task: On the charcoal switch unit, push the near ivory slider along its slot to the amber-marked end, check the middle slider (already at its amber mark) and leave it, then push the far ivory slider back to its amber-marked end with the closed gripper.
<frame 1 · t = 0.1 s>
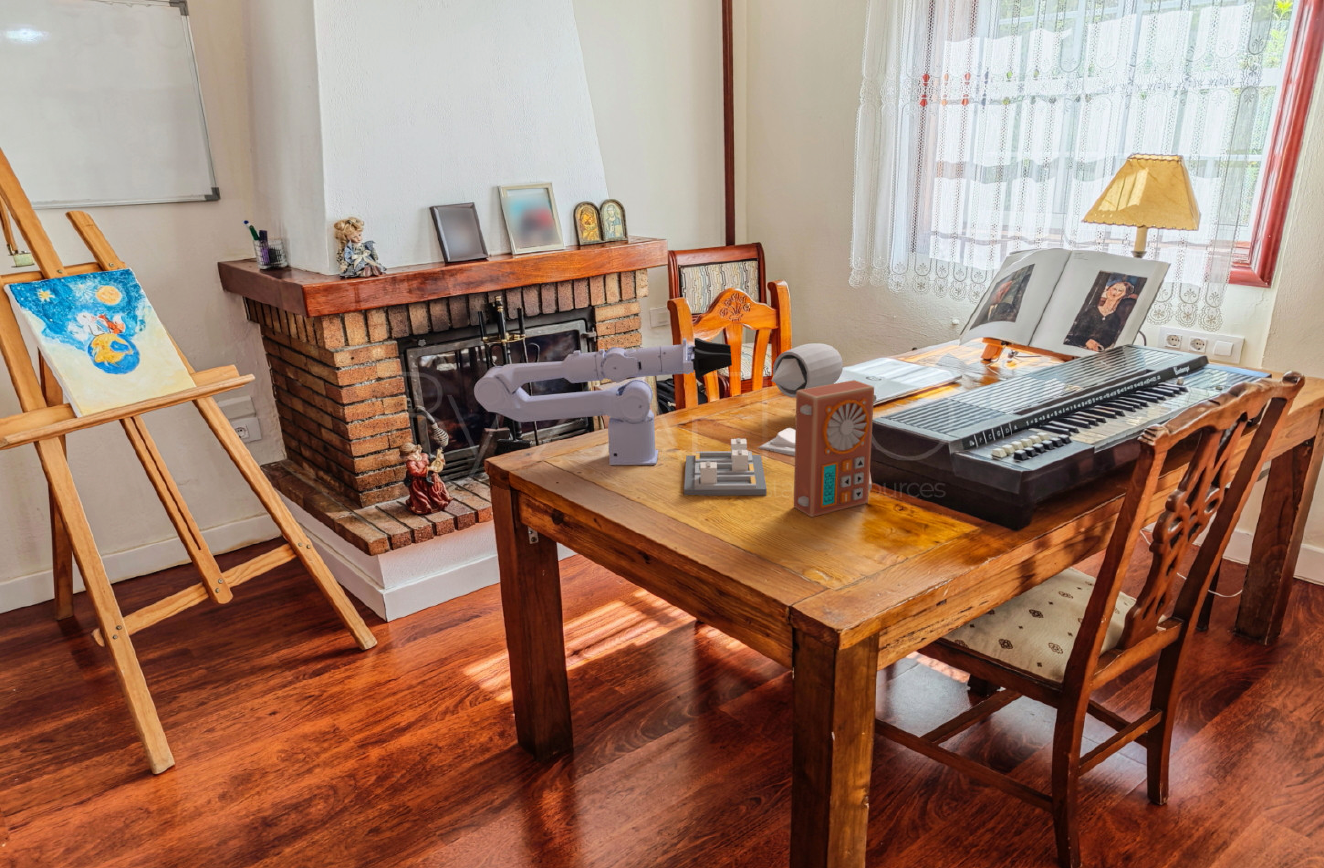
hand: (731, 354, 171), 22 cm above the table, tool horizontal, fingers open, 7 cm apart
slider near: (708, 473, 161), point 3 cm above the table, slide at 0.0 cm
switch unit: (724, 477, 168), on the table
jet engine: (802, 420, 201), on the table
light switch: (796, 450, 184), on the table
slider far: (738, 449, 173), point 3 cm above the table, slide at 6.0 cm
control panel: (830, 505, 154), on the table
slider mid: (740, 461, 167), point 3 cm above the table, slide at 6.0 cm
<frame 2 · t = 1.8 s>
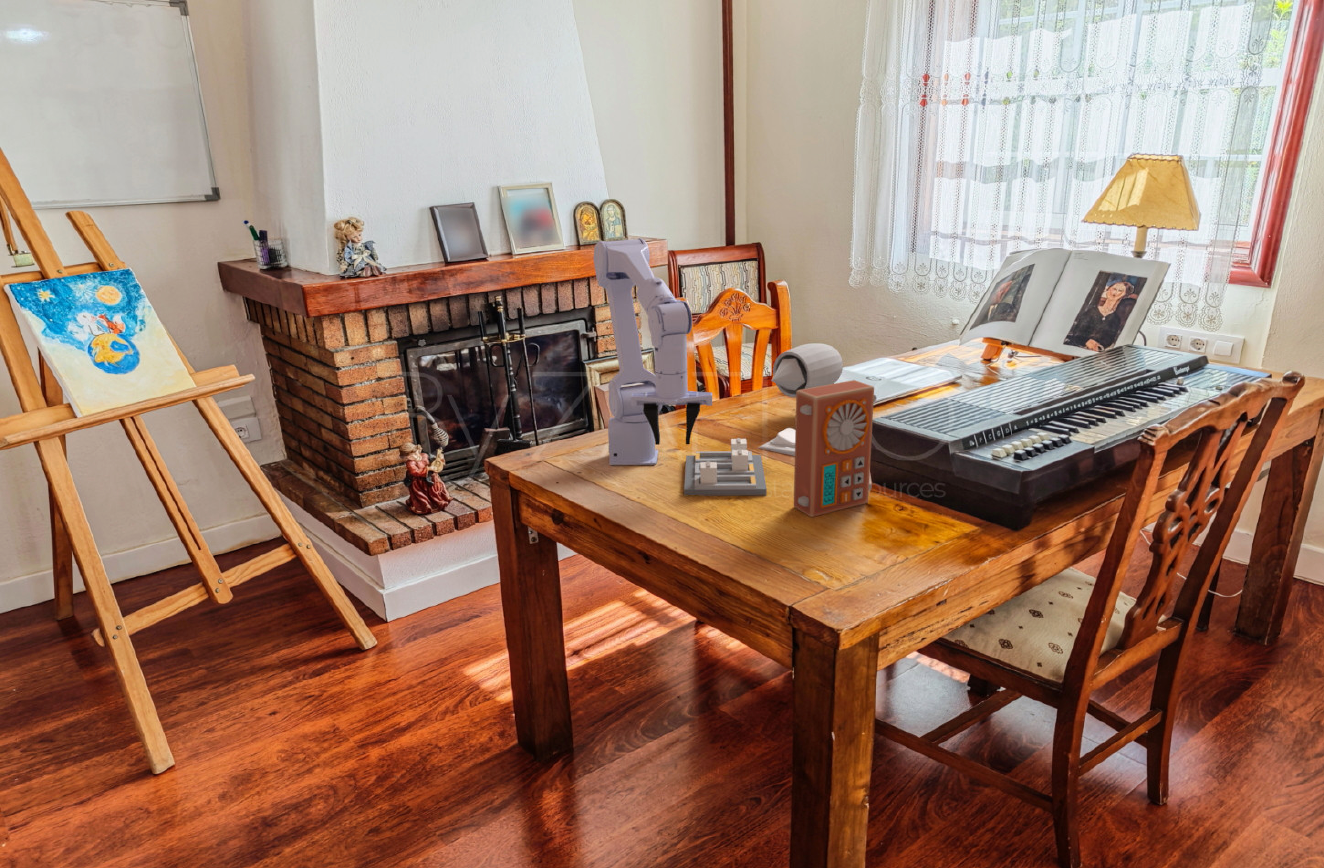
hand: (672, 442, 159), 9 cm above the table, tool pointing down, fingers open, 5 cm apart
nothing on the table moved.
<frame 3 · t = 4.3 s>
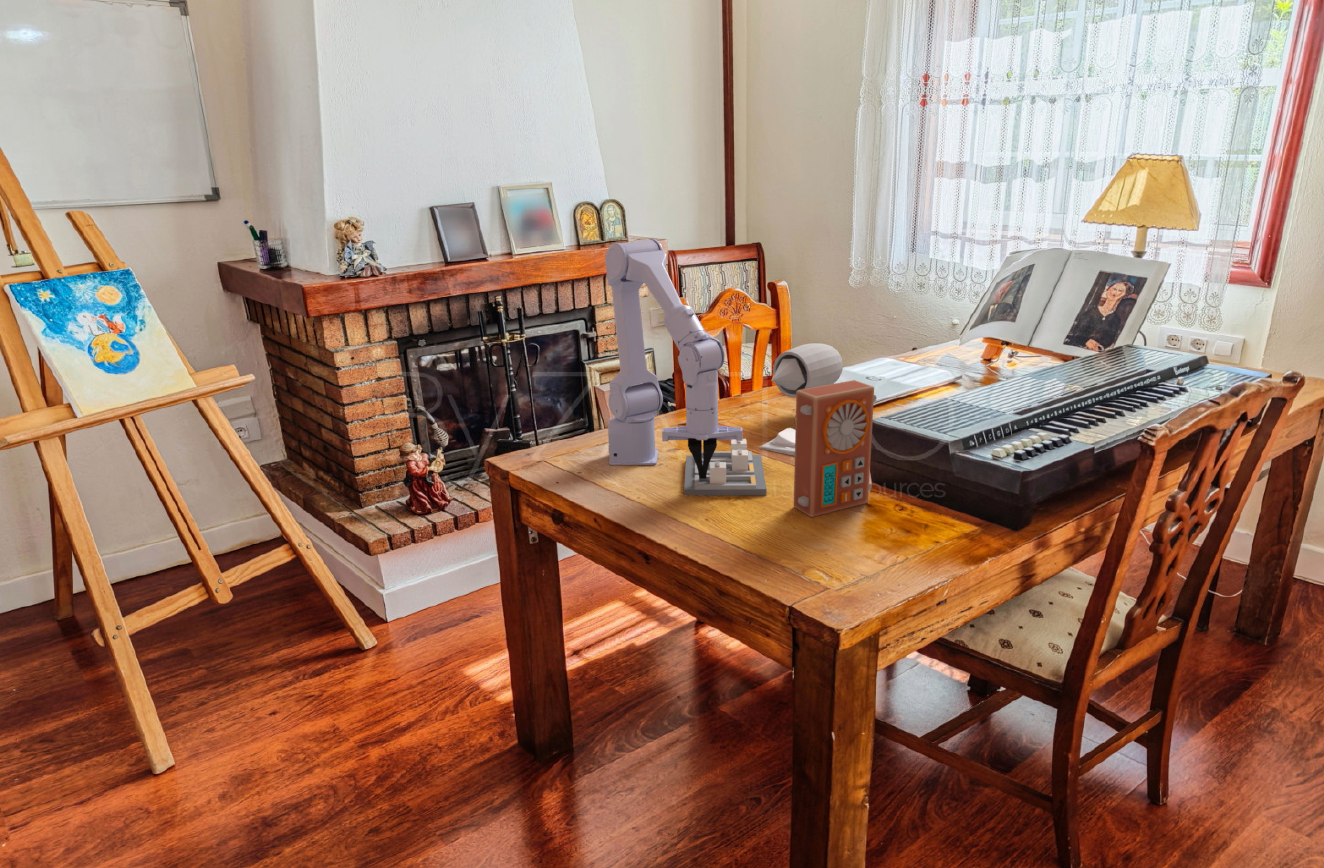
hand: (702, 476, 161), 3 cm above the table, tool pointing down, fingers closed
slider near: (717, 473, 161), point 3 cm above the table, slide at 1.7 cm, touching gripper
everything else where it was.
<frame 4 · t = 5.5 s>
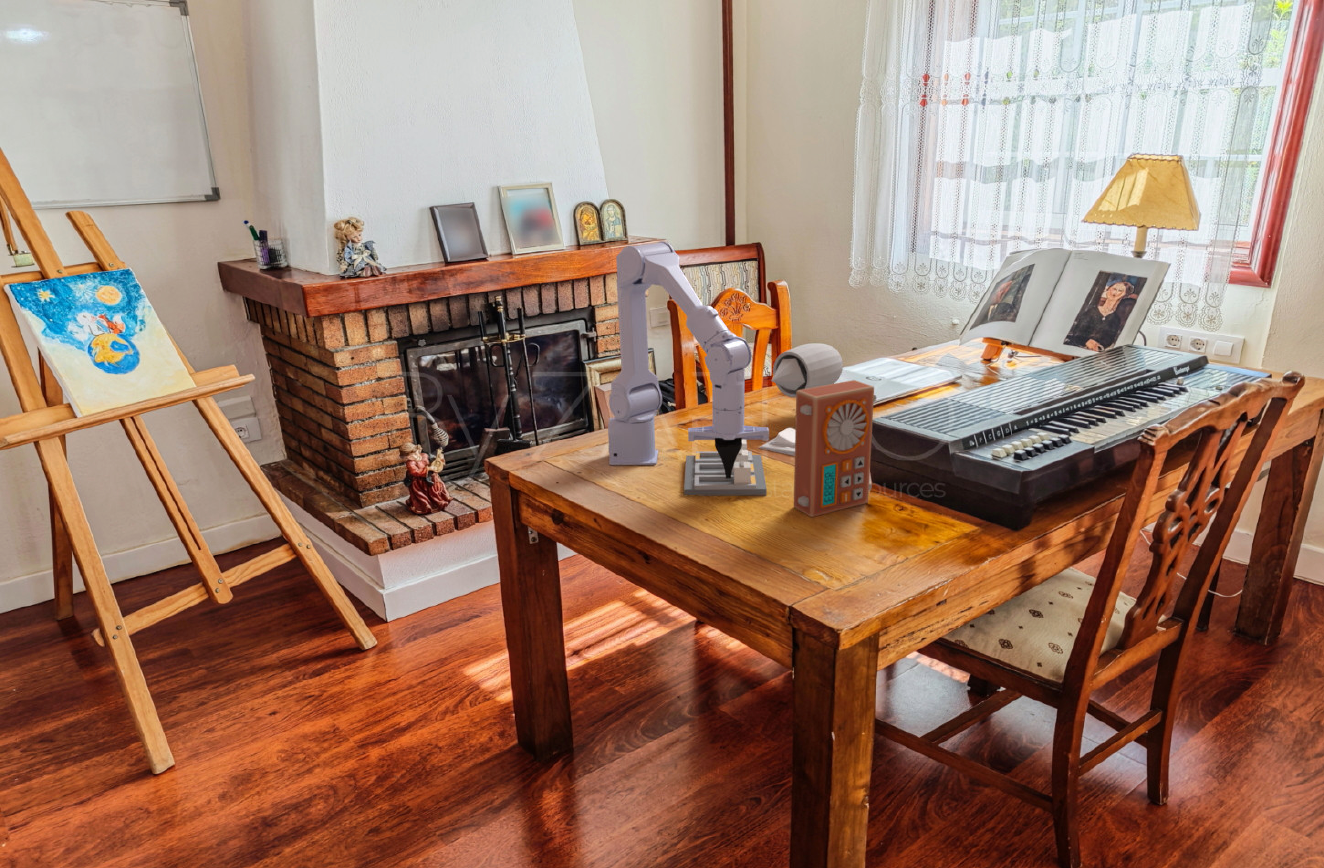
hand: (728, 476, 161), 3 cm above the table, tool pointing down, fingers closed
slider near: (742, 473, 161), point 3 cm above the table, slide at 6.2 cm, touching gripper
everything else where it was.
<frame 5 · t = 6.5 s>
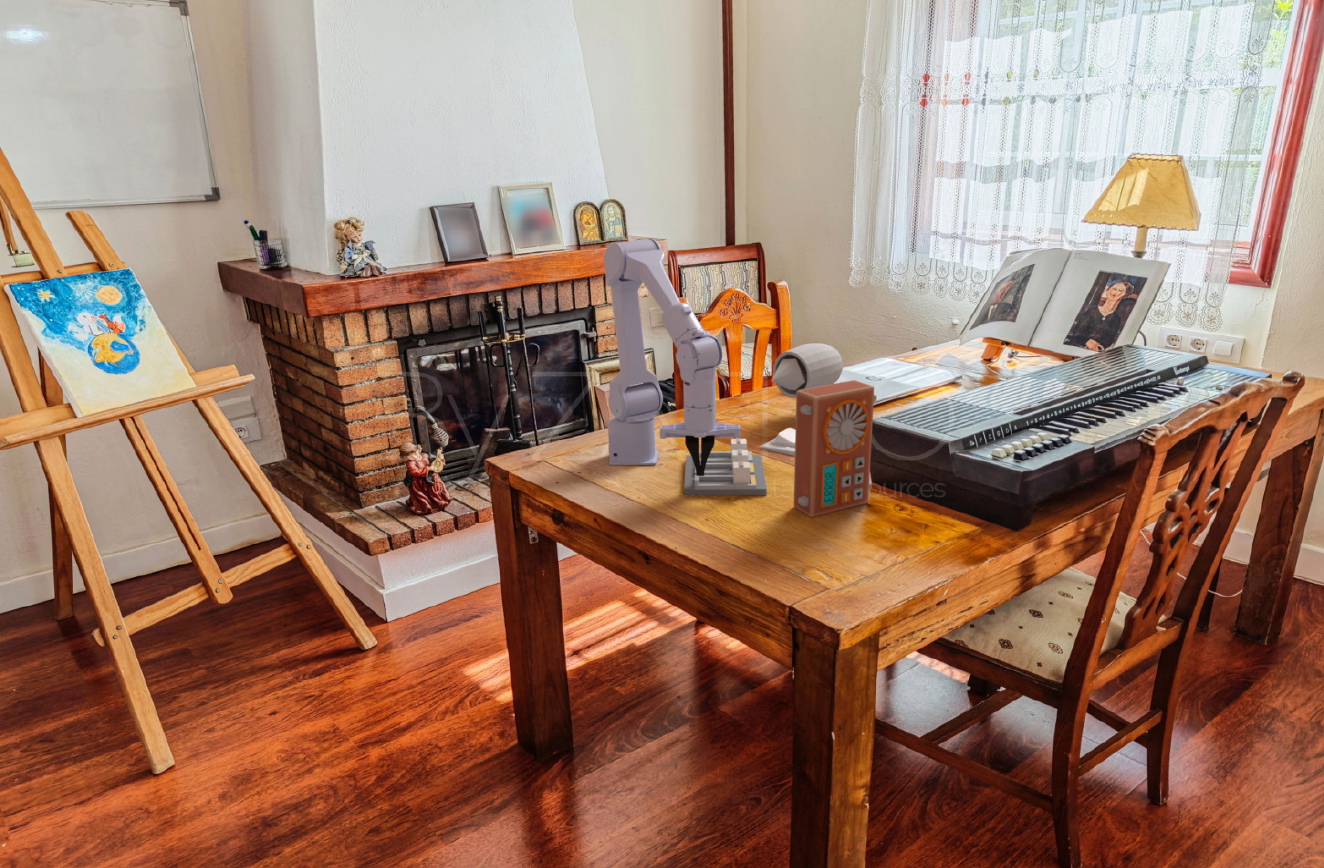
hand: (700, 474, 161), 3 cm above the table, tool pointing down, fingers closed
slider near: (741, 473, 161), point 3 cm above the table, slide at 6.1 cm
everything else where it was.
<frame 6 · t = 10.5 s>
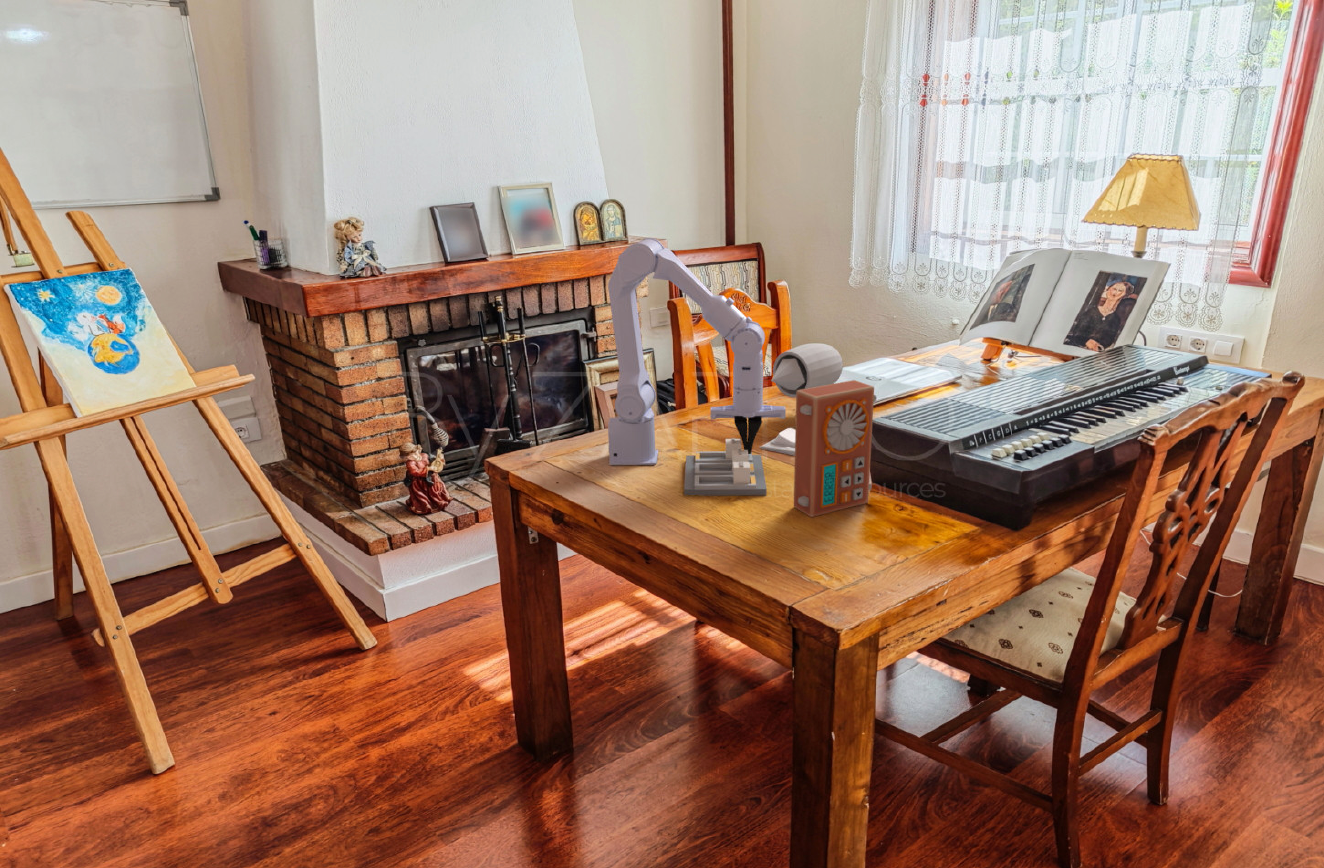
hand: (747, 452, 173), 3 cm above the table, tool pointing down, fingers closed
slider far: (733, 449, 173), point 3 cm above the table, slide at 4.9 cm, touching gripper
everything else where it was.
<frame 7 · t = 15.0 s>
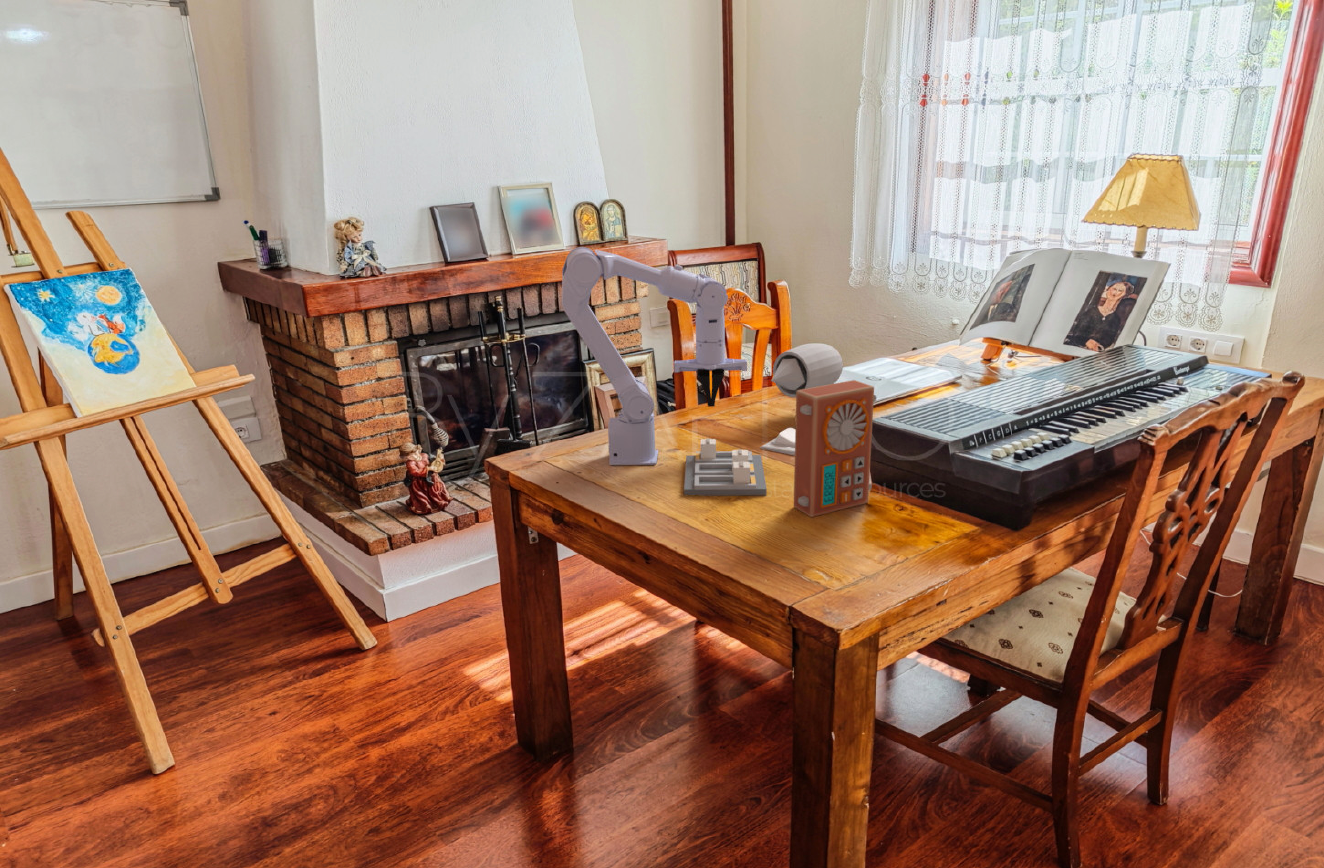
hand: (711, 405, 178), 10 cm above the table, tool pointing down, fingers closed
slider far: (708, 449, 173), point 3 cm above the table, slide at -0.1 cm
everything else where it was.
at the end: slider near slide at 6.1 cm; slider mid slide at 6.0 cm; slider far slide at -0.1 cm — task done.
